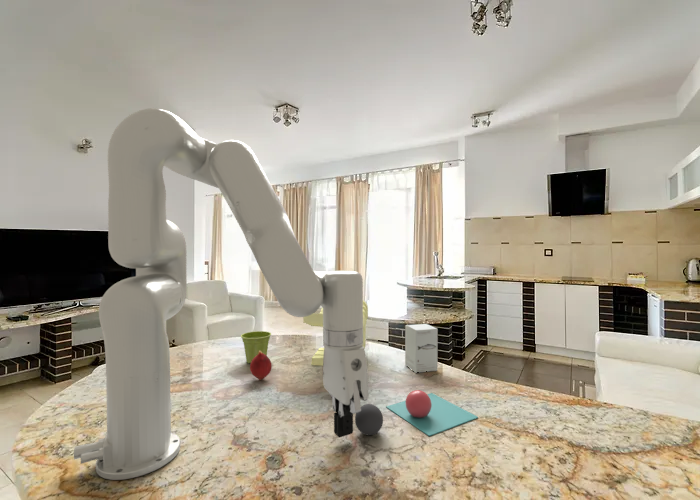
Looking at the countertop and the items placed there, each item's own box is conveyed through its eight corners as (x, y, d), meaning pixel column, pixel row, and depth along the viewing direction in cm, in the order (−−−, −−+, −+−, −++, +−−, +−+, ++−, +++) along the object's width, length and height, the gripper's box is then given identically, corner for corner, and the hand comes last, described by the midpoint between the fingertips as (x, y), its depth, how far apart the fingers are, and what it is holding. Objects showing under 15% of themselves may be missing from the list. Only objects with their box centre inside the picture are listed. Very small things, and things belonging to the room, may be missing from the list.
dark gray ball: (384, 405, 66) (391, 430, 67) (368, 394, 71) (375, 417, 72) (361, 421, 63) (369, 446, 64) (346, 408, 68) (354, 432, 69)
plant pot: (239, 359, 113) (239, 332, 113) (268, 355, 117) (267, 329, 116) (243, 368, 104) (243, 339, 104) (274, 363, 108) (274, 336, 108)
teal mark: (429, 436, 66) (429, 435, 66) (386, 407, 78) (386, 406, 78) (478, 417, 73) (478, 416, 73) (431, 393, 85) (431, 392, 85)
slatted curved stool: (359, 377, 96) (358, 314, 96) (303, 375, 98) (303, 313, 98) (367, 346, 126) (367, 298, 126) (325, 345, 128) (325, 297, 128)
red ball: (431, 390, 72) (440, 410, 73) (414, 381, 77) (422, 400, 78) (413, 406, 70) (422, 428, 71) (396, 396, 74) (405, 416, 76)
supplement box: (415, 373, 99) (415, 330, 99) (404, 365, 106) (404, 324, 106) (438, 371, 101) (438, 328, 101) (426, 363, 108) (426, 322, 108)
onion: (274, 376, 98) (274, 348, 98) (267, 384, 92) (267, 354, 92) (254, 375, 98) (254, 347, 98) (246, 383, 92) (246, 353, 92)
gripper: (382, 343, 60) (383, 447, 60) (341, 326, 73) (341, 412, 73) (345, 349, 56) (345, 461, 56) (308, 330, 69) (309, 421, 69)
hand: (343, 433), depth 65 cm, fingers closed
